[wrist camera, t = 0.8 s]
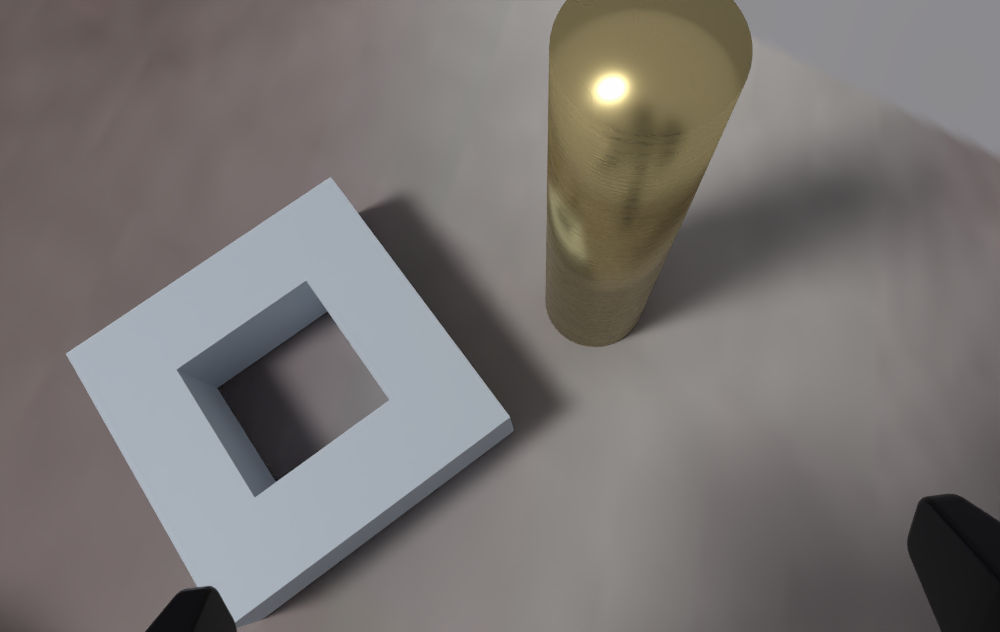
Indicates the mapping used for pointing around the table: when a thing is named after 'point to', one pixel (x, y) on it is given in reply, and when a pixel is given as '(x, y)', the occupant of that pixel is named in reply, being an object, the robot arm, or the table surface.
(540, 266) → the table surface
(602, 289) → the pin
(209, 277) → the socket block
